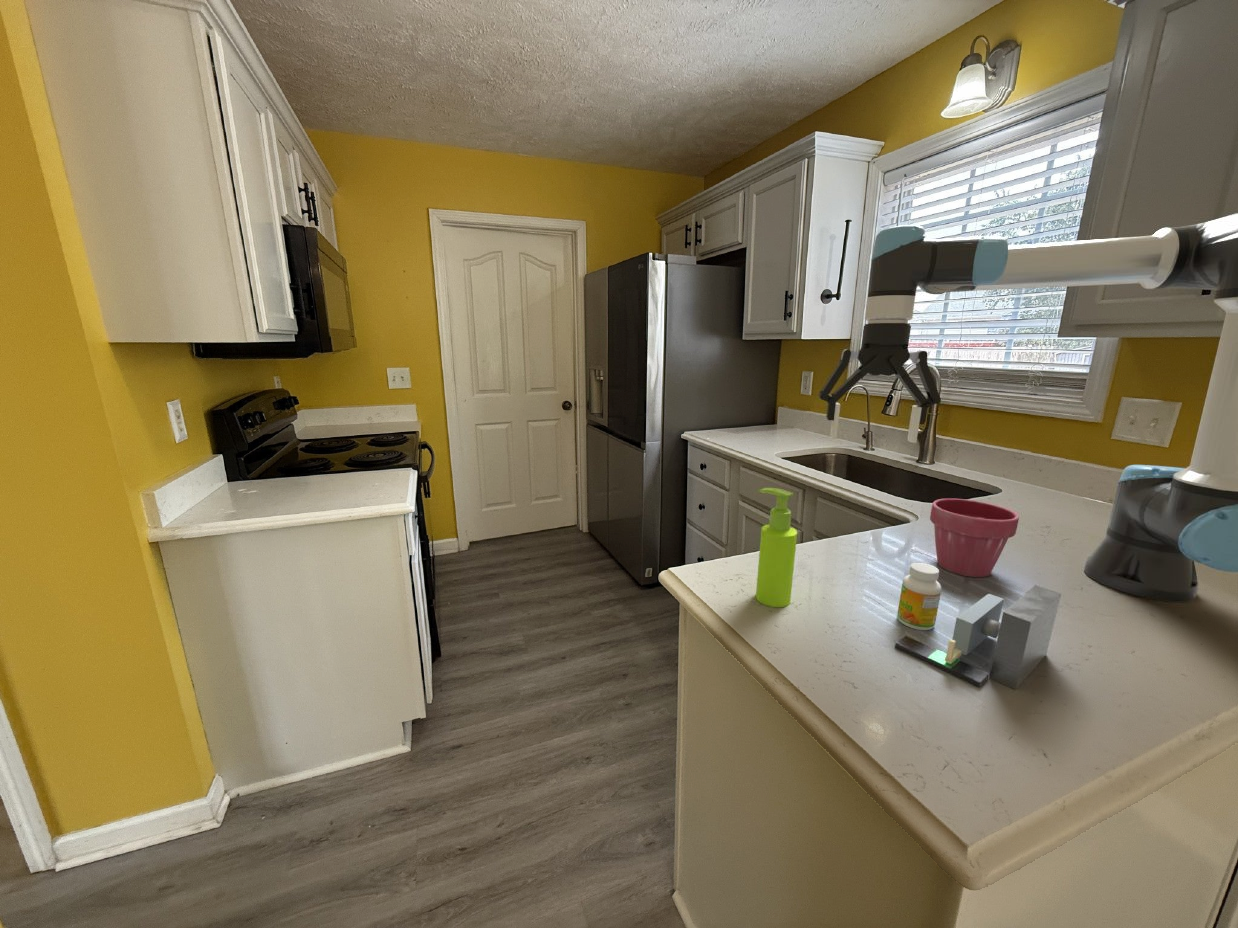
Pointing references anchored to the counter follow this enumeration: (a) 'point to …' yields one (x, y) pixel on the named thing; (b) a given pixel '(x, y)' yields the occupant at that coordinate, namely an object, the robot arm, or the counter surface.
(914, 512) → the counter surface
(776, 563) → the soap dispenser
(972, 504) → the plant pot
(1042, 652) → the frame
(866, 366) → the robot arm
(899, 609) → the supplement bottle
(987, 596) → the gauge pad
